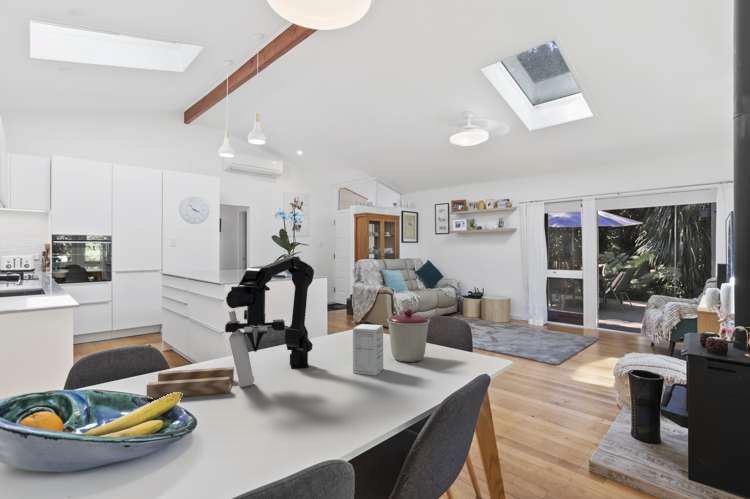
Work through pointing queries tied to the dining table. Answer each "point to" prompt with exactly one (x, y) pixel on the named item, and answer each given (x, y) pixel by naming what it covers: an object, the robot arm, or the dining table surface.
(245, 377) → the bottle
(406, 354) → the canister
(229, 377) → the u rest
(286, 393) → the dining table surface
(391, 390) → the dining table surface
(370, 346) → the supplement box
